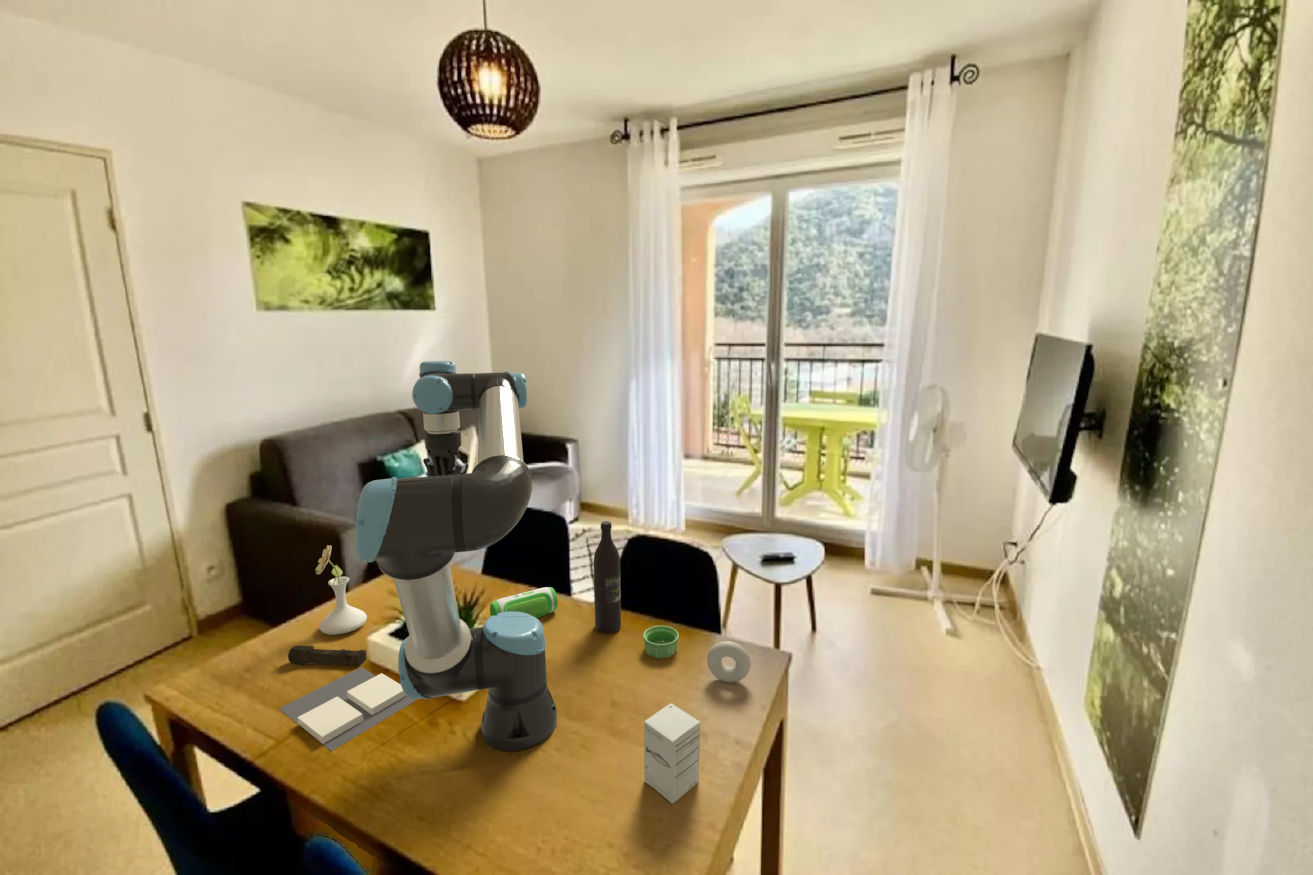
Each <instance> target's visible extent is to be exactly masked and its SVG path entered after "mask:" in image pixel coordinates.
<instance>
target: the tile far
mask: <svg viewBox="0 0 1313 875" xmlns="http://www.w3.org/2000/svg"><path fill="white" fill-rule="evenodd" d="M405 696H407V695H406V694H405V693H404V691H403V689H402V686H401V683H400V682H397V681H395V680H394V679H393V678H391V677H389V676H387V675H386V674H384V673H382V672H381V673H379V674H377V675H375V677H373V678H371V679H370V680H368V681H366V682H364V683H362V684H360V685H358V686H356V687H354V688H352V689H350V690H349V691H347V698H348V699H350V700H351V701H353V702H354V703H356V704H357V705H358V706H360V707H361V708H363V709H364V710H366V711H367V712H369V713H370V714H371V715H374V714H376V713H377V712H379V711H381V710H383V709H384V708H386V707H388V706H390V705H391V704H393V703H395V702H396V701H398V700H400V699H402V698H403V697H405Z"/></svg>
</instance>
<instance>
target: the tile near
mask: <svg viewBox="0 0 1313 875" xmlns="http://www.w3.org/2000/svg"><path fill="white" fill-rule="evenodd" d="M362 721H363V714H362V713H360V712H359V711H358V710H356V709H355V708H353V707H352V706H350V705H349V704H348V703H346V702H345V701H343V700H342V699H340V698H339V697H338V696H337V697H335V698H333V699H331V700H330V701H328V702H326V703H324V704H322V705H320V706H318V707H316V708H314V709H312V710H310V711H309V712H307V713H305V714H303V715H301V716H299V717H298V724H299V725H300V726H301V727H300V726H299V725H298V724H297V725H298V726H299V727H300V728H302V727H303V728H304V729H305V730H306V731H305V730H304V729H303V728H302V729H303V730H304V731H305V732H307V731H308V732H309V733H310V734H311V735H312V736H311V737H313V736H314V737H315V738H316V739H317V741H318V740H319V741H320V742H321V743H322V745H323V744H324V743H326V742H328V741H329V740H331V739H333V738H334V737H336V736H338V735H340V734H341V733H343V732H345V731H346V730H348V729H350V728H352V727H353V726H355V725H357V724H358V723H360V722H362ZM308 732H307V733H308ZM309 733H308V734H309ZM310 734H309V735H310ZM314 737H313V738H314ZM315 738H314V739H315ZM316 739H315V740H316ZM319 741H318V742H319ZM320 742H319V743H320ZM321 743H320V744H321Z"/></svg>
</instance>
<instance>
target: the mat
mask: <svg viewBox="0 0 1313 875" xmlns="http://www.w3.org/2000/svg"><path fill="white" fill-rule="evenodd" d="M375 676H376V675H375V674H374V673H372V672H371V671H369V670H367V669H366V668H364V667H362V666H359V667H358V668H357V669H354V670H353V671H351V672H348V673H347V674H344V675H343V676H340V677H338V678H337V679H335V680H333V681H331V682H329V683H327V684H325V685H323V686H320V687H318V688H317V689H315V690H313V691H311V692H309V693H307V694H305V695H302V696H301V697H298V698H296V699H294V700H293V701H291V702H289V703H287V704H285V705H283V706H281V707H279V708H278V709H279V711H281V712H282V713H283V714H284V715H285V716H287V717H288V718H289V719H291V721H293V722H294V723H295V724H297V725H298V726H299V727H300V728H301V729H303V730H304V731H305V732H307V733H308V734H309V735H311V734H310V733H309V732H308V731H306V730H305V729H304V728H303V727H301V726H300V725H299V724H298V717H299V716H301V715H303V714H305V713H307V712H309V711H310V710H312V709H314V708H316V707H318V706H320V705H322V704H324V703H326V702H328V701H330V700H331V699H333V698H335V697H337V696H338V697H339V698H340V699H342V700H343V701H345V702H346V703H348V704H349V705H350V706H352V707H353V708H355V709H356V710H358V711H359V712H360V713H362V714H363V721H362V722H360V723H358V724H357V725H355V726H353V727H352V728H350V729H348V730H346V731H345V732H343V733H341V734H340V735H338V736H336V737H334V738H333V739H331V740H329V741H328V742H326V743H324V744H322V743H321V742H320V741H319V740H317V739H316V738H315V737H314V736H312V735H311V737H312V738H314V739H315V740H317V741H318V742H319V743H320V744H322V746H324V747H325V748H326V749H328V750H329V752H333V751H334V750H336V749H337V748H339V747H341V746H343V745H344V744H346V743H348V742H349V741H351V740H352V739H355V738H356V737H358V736H360V735H361V734H362V733H364V732H366V731H368V730H370V729H371V728H372V727H375V726H376V725H378V724H379V723H381V722H383V721H384V720H386V719H388V718H389V717H392V716H393V715H394V714H396V713H398V712H399V711H401V710H403V709H404V708H406V707H407V706H410V705H411V704H413V703H414V702H416V701H417V699H411V698H409V697H408V696H405V697H403V698H402V699H400V700H398V701H396V702H395V703H393V704H391V705H390V706H388V707H386V708H384V709H383V710H381V711H379V712H377V713H376V714H374V715H371V714H370V713H369V712H367V711H366V710H364V709H363V708H361V707H360V706H358V705H357V704H356V703H354V702H353V701H351V700H350V699H348V698H347V691H349V690H350V689H352V688H354V687H356V686H358V685H360V684H362V683H364V682H366V681H368V680H370V679H371V678H373V677H375Z"/></svg>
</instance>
